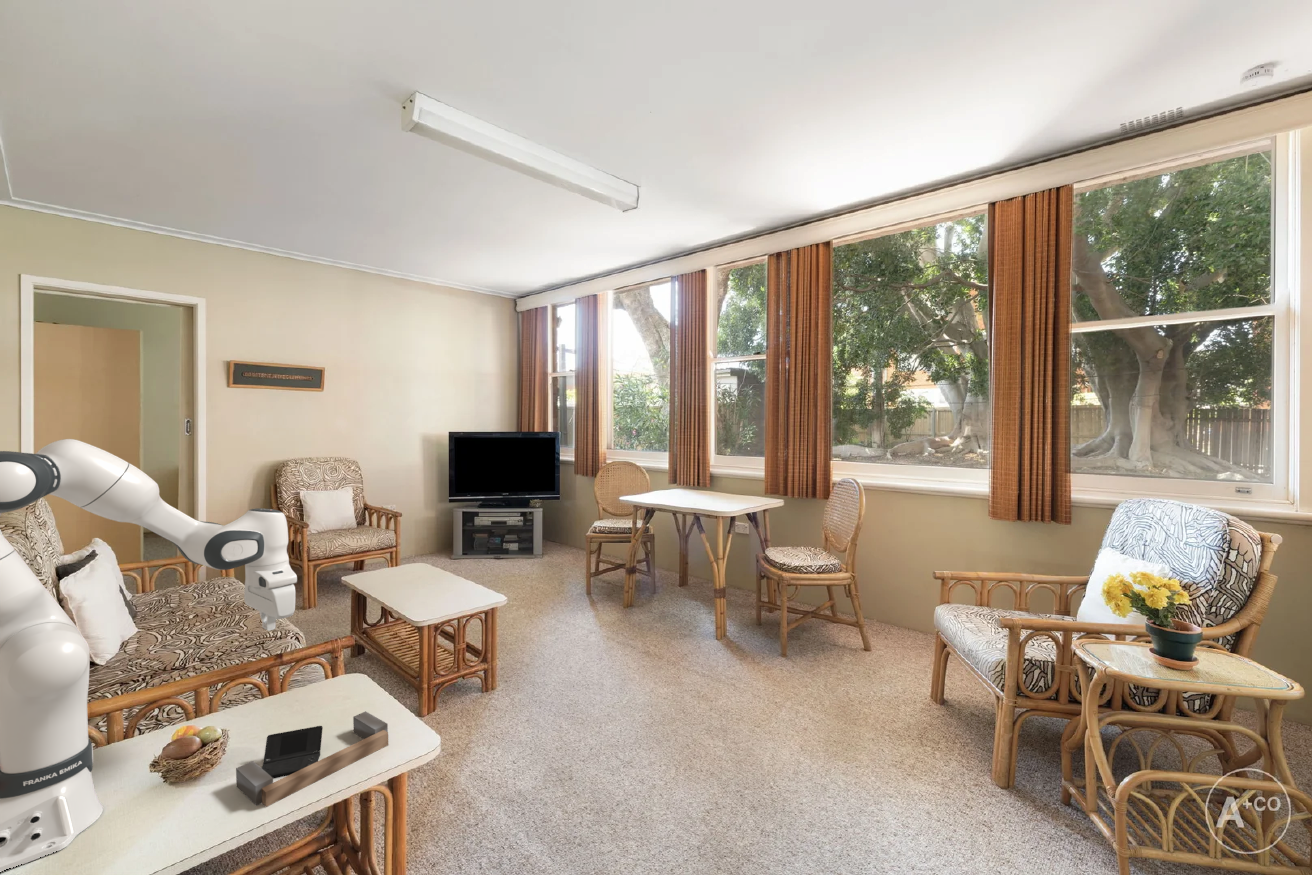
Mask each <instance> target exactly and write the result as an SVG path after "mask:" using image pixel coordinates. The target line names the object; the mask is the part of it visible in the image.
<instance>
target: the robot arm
mask: <svg viewBox="0 0 1312 875" xmlns="http://www.w3.org/2000/svg"><path fill="white" fill-rule="evenodd" d="M48 495H51V496H53V497H57V498H60V499H63V500H65V501H67V502H69V503H71V504H72V505H75V506H76V507H78V508H80V509H83V510H84V511H86V512H89V513H90V514H91V513H92V514H93V515H95V516H99V517H102V518H103V519H107V520H111V521H114V522H119V523H129V524H135V525H137V526H140V527H142V528H145V529H147V530H148V531H150V532H153V533H154V534H155V535H158V536H160V537H161V538H164V539H166V540H168V541H169V542H171V543H172V544H174V546H175V547H176V549H177V550H178V551H179V553H180V554H181V556H182V557H183V558H184V559H186V560H187V561H188V562H189V563H192V564H195V565H200V566H201V565H202V566H204V567H207V568H211V569H214V570H218V571H227V570H233V569H236V568H238V567H242V566H244V572H245V573H244V575H245V576H244V577H245V580H244V591H243V592H244V593H243V594H244V595H243V598H244V600H243V601H244V603H245V605H246V606H248V607H249V608H253V609H254V610H256V611H259V616H260V620H261V622H262V624H261V626H262V629H264V630H267V631H268V632H269V631H273V630H275V629H276V626H277V625H276V623H277V620H283V619H286V618H290V617H292V616H293V615H294V614H295V610H296V586H295V584H297V583H298V576H297V574H296V572H295V571H294V570H293V569H292V567H291V565H290V558H289V554H288V545H289V528H288V521H287V517H286V514H284V512H282V511H281V510H278V509H273V508H262V507H260V508H257V507H256V508H251V509H249V510H247V511H246V512H245V513H244V514H243V515H241V516H240V517H239V518H237V519H236V520H233V521H231V522H229V523H227V524H225V525H223V524H220V523H217V522H212V521H211V522H210V521H202V520H197V519H195V518H193V517H191V516H189V515H188V514H186V513H184V512H182V510H180V509H177V508H175V507H174V506H172V505H170V504H168V503H167V502H166V501H165V500H164V499H162V497H161V496H160V488H159V484H158V483H157V481H155V480H154V479H153V478H151V477H150V476H149V475H148V474H146V472H144V471H142V470H141V469H139V468H138V467H137V466H135V465H133V464H132V463H130V462H128V461H126V460H125V459H123V458H121V457H119V456H117V455H114V454H113V453H111V452H109V451H107V450H104V449H102V448H99V447H98V446H95V445H92V444H89V443H87V442H85V441H81V440H79V439H73V438H66V439H59V440H55V441H53V442H51V443H48V444H47V445H44V446H43V447H41V448H40V449H39V450H38V451H37V452H36V453H30V452H22V451H21V452H20V451H12V450H11V451H10V450H9V451H8V450H0V516H2V514H3V513H11V512H14V511H17V510H20V509H22V508H25V507H27V506H30V505H31V504H33V503H34V502H37V501H38V500H40V499H42V498H44V497H46V496H48ZM90 649H91V648H90V645H89V643H88V642H87V640H86V638H85V637H84V636H83V634H82V633H81V631H80V630H79V628H78V627H77V625H76V624H75V623H74V621H72V619H71V617H70V616H69V615H68V613H67V612H66V611H65V610H64V609H63V607H61V606H60V604H59V603H58V602H57V600H55V598H54V596H53V595H52V594H51V592H49V590H48V589H47V588H46V587H45V586H44V585H43V583H42V582H41V581H40V580H39V578H38V577H37V575H36V574H35V573H34V572H33V570H32V569H31V568H30V566H28V564H27V563H26V562H25V560H24V559H23V558H22V556H20V554H19V553H18V551H17V550H16V549H15V548H14V547H13V545H12V544H11V543H10V542H9V541H8V539H7V538H6V537H5V536H4V535H3V532H2V530H1V529H0V871H3V870H6V869H9V868H11V869H14V868H16V866H17V867H18V865H19V866H22V865H25V864H27V863H29V862H33V861H35V860H39V859H40V857H41V858H43V857H46V856H48V854H49V855H51V854H54V853H57V852H60V851H61V850H63V849H65V848H66V847H68V846H69V845H70V844H71V842H72V841H73V840H74V839H75V838H76V837H77V836H78V835H79V834H81V833H82V832H83V831H85V830H86V829H88V827H90V826H91V825H92V824H93V823H95V822H96V821H98V818H100V816H101V815H102V813H103V811H104V805H103V803H102V802H101V800H100V799H99V796H98V794H97V790H96V788H95V787H96V786H95V784H94V780H93V774H92V771H93V770H94V769H93V765H94V748H93V747H94V746H93V744H92V741H91V740H90V738H89V723H88V721H89V718H88V716H89V714H88V695H89V687H90V685H89V684H90V661H91V660H90V659H91V658H90V657H91V656H90V654H91V652H90V651H91V650H90ZM56 851H57V852H56ZM53 852H54V853H53ZM45 855H46V856H45ZM21 864H22V865H21ZM13 867H14V868H13ZM9 870H10V869H9ZM6 871H7V870H6ZM3 872H4V871H3Z"/></svg>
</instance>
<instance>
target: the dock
mask: <svg viewBox="0 0 1312 875" xmlns="http://www.w3.org/2000/svg"><path fill="white" fill-rule="evenodd" d="M352 718H353V724H352V725H353V733H354V734H355V735H357V736H358V737H360V738H362V739H361V740H359V741H356V742H355V743H354V744H352V745H349V746H347V747H345V748H343V749H341V750H339V751H337V752H335V753H332V754H330V755H329V756H327V757H324V758H322V759H319V760H318V762H315V763H313V764H311V765H309V766H307V767H305V768H303V769H301V770H299V771H297V772H295V773H293V774H290V775H288V776H283V777H281V778H280V779H278V780H276V781H274V778H272V777H271V776H270V775H269V774H268V773H267V772H265V771H264V770H263V769H262V766H259V764H257V763H256V762H255V761H254V760H251V761H249V762H247V763H244V764H242V765H240V766H238V767H235V777H236V778H235V780H236V782H235V783H236V789H238V790H239V791H240V792H241V793H242V794H243V795H244V796H245V797H246V798H247V799H248V800H250V802H252V803H253V805H254V806H257V807H258V806H259V805H261V804H262V805H264V806H265V807H269V806H271V805H273V804H275V803H277V802H279V801H281V800H282V799H285V798H287V797H289V796H291V795H293V794H295V793H297V792H298V791H300V790H303V789H305V788H307V787H308V786H310V785H312V784H314V783H316V782H318V781H320V780H322V779H324V778H326V777H328V776H331V775H332V774H334V773H336V772H338V771H340V770H342V769H344V768H346V767H348V766H350V765H352V764H354V763H356V762H358V761H360V760H362V759H364V758H366V757H367V756H369V755H371V754H373V753H375V752H377V751H379V750H382V749H383V748H385V747H388V746H389V730H388V729H389V728H388V726H389V725H388V723H387V722H385V721H384V720H382V719H380V718H378V717H376V716H375V715H373V714H371V713H369V712H368V711H363V712H361V713H359V714H356V715H354V716H353V717H352Z"/></svg>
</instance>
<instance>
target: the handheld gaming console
mask: <svg viewBox="0 0 1312 875" xmlns="http://www.w3.org/2000/svg"><path fill="white" fill-rule="evenodd" d="M322 737H323V726H322V725H317V726H316V725H315V726H311V727H306V728H300V729H295V730H294V729H293V730H289V731H283V732H278V733H273V734H272V733H271V734H268V735H267V737H266V741H265V742H266V743H265V749H264V756H263V762H262V766H261V768H262V769H263V770H264V771H265V772H267V773H268V774H269V775H270V776H271V777H272V778H273V779H277V778H284V777H286V776H288V775H290V774H293V773H295V772H297V771H299V770H301V769H303V768H305V767H307V766H309V765H311V764H313V763H315V762H318V761H319V760H320V757H321V749H322V739H323V738H322Z"/></svg>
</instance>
